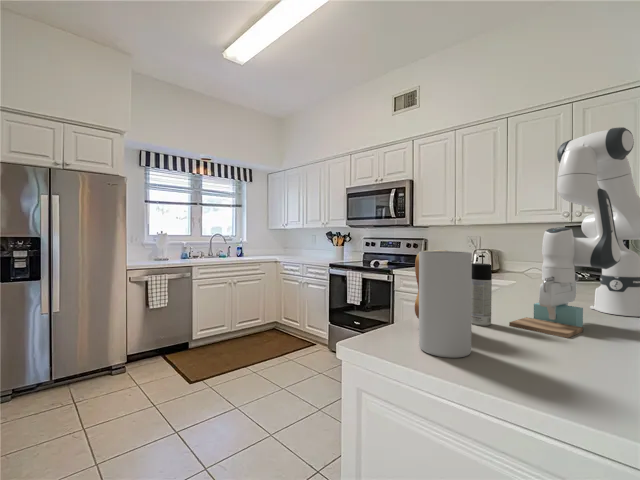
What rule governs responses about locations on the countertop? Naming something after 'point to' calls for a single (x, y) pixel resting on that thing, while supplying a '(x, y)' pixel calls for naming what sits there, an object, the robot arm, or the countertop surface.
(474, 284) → the spray can
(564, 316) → the pale blue tall prism
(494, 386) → the countertop surface
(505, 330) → the countertop surface
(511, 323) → the board
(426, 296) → the cylinder vase
